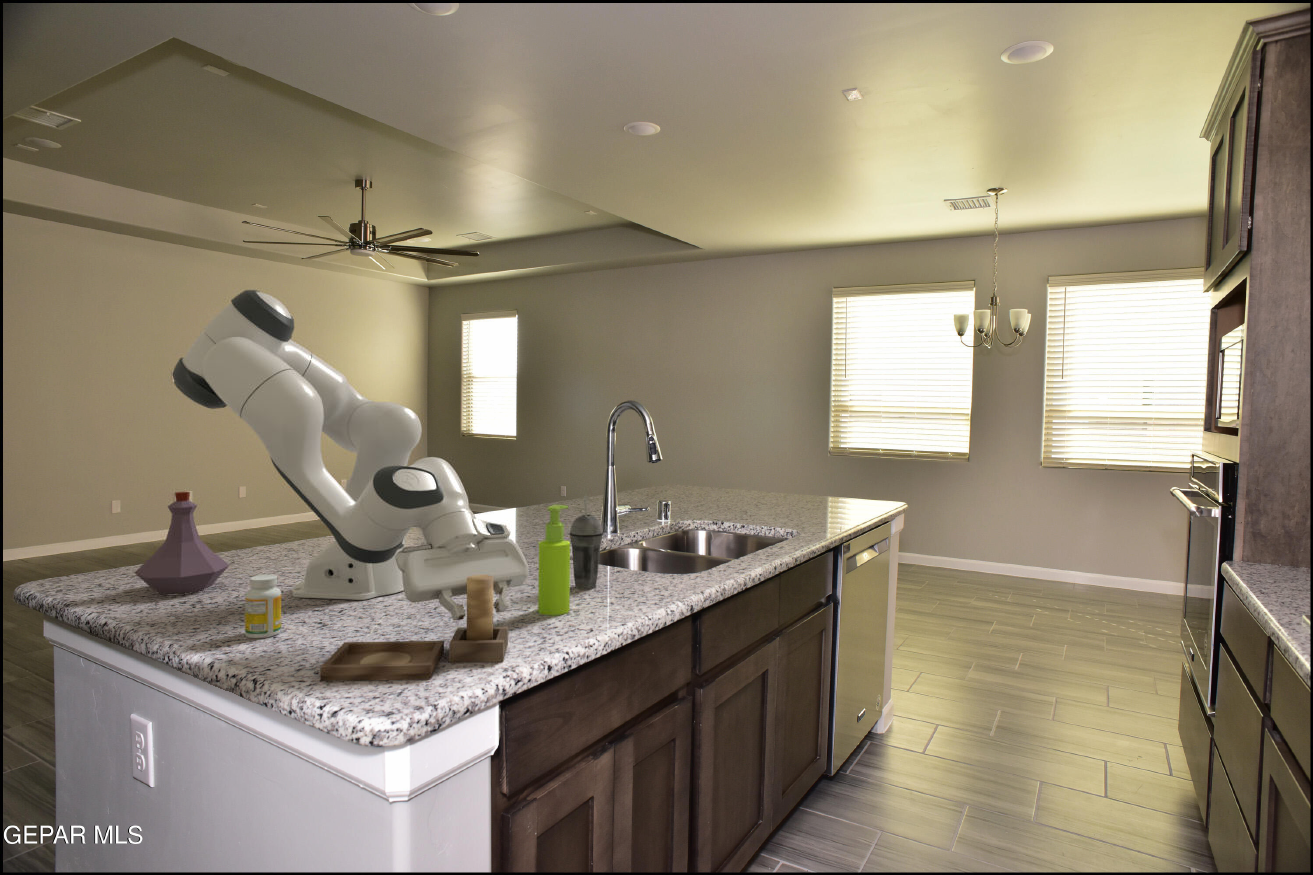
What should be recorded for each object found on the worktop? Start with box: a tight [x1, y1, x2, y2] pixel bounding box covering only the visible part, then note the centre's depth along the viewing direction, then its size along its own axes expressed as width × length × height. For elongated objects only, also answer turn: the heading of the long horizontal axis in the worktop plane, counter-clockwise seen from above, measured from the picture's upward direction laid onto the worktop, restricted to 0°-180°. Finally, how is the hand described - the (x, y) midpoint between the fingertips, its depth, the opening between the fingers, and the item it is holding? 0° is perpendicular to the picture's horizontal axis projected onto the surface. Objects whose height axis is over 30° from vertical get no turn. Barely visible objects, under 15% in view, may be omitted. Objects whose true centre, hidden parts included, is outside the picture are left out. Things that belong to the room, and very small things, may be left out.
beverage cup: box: [568, 494, 604, 590], centre depth 159 cm, size 7×7×20 cm
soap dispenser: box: [537, 504, 571, 616], centre depth 141 cm, size 6×7×20 cm
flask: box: [134, 491, 230, 595], centre depth 152 cm, size 16×16×20 cm
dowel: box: [466, 575, 494, 640], centre depth 116 cm, size 4×4×12 cm
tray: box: [319, 640, 445, 683], centre depth 110 cm, size 15×11×2 cm
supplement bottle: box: [244, 574, 282, 639], centre depth 124 cm, size 5×5×10 cm
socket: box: [448, 626, 509, 664], centre depth 116 cm, size 8×8×3 cm
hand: (481, 614), depth 115 cm, fingers open, 6 cm apart
